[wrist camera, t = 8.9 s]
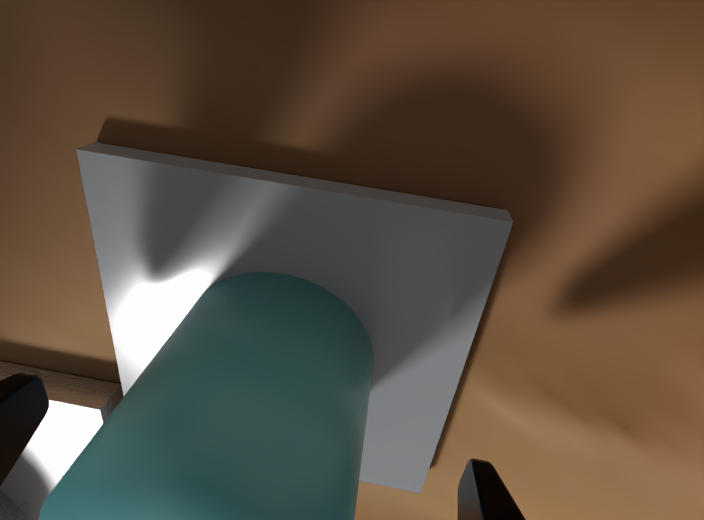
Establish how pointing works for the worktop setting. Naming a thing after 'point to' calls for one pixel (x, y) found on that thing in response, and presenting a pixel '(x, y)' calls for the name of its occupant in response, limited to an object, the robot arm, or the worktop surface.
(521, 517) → the robot arm
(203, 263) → the coaster
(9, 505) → the grey square plate
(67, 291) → the worktop surface
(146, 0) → the worktop surface
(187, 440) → the teal cylinder
